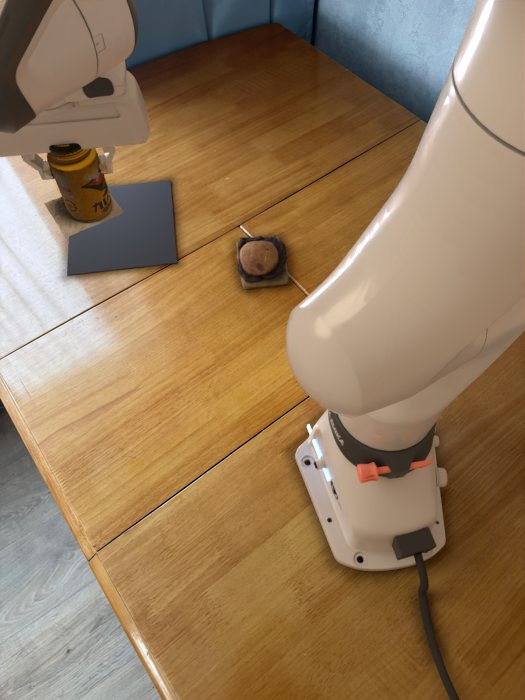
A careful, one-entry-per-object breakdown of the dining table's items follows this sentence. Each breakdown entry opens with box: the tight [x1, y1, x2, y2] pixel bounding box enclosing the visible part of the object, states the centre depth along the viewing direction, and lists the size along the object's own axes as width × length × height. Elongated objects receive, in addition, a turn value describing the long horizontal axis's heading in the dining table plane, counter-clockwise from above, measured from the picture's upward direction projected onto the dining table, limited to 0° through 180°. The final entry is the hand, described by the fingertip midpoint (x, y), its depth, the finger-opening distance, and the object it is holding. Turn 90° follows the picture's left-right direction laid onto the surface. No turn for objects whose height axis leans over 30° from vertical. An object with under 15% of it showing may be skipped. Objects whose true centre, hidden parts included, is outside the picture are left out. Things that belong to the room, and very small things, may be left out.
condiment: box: [43, 143, 123, 239], centre depth 67 cm, size 7×8×12 cm
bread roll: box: [235, 234, 290, 290], centre depth 86 cm, size 11×8×4 cm
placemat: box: [66, 179, 178, 276], centre depth 92 cm, size 20×18×1 cm
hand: (78, 173), depth 68 cm, fingers closed on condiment, 6 cm apart
